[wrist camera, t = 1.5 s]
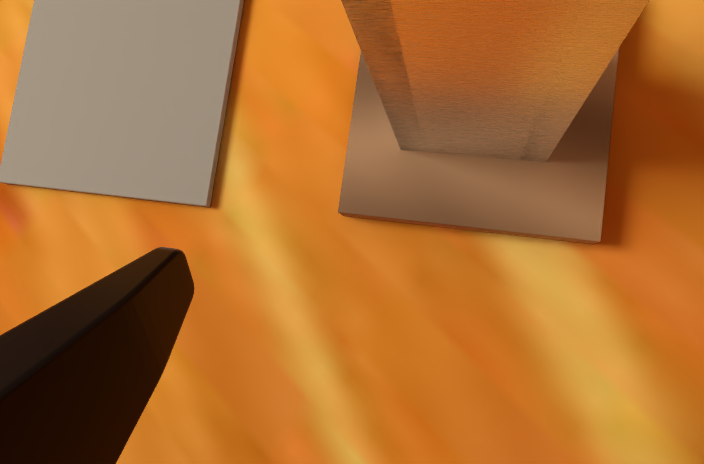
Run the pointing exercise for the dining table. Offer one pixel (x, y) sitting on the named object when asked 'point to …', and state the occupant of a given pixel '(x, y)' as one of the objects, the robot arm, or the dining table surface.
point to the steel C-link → (487, 68)
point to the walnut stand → (481, 175)
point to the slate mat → (123, 98)
